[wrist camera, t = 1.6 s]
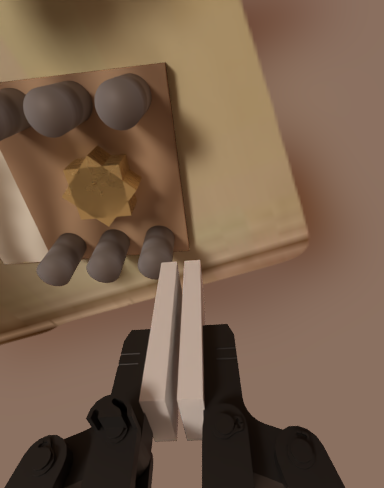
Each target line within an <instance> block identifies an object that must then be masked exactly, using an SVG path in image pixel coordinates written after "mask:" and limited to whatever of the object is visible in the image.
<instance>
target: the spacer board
mask: <svg viewBox="0 0 384 488" xmlns="http://www.w3.org/2000/svg"><path fill="white" fill-rule="evenodd" d="M97 145H98V146H99V147H100V148H102V149H103V150H104V151H106V152H107V153H109V154H110V155H119V154H126V156H127V160H128V165H129V169H131V170H132V171H133V172H135V173H136V174H137V175H139V176H140V177H142V179H141V181H140V183H139V186H138V188H137V190H136V192H135V195H136V199H137V202H136V205H135V208H134V210H133V213H132V215H131V216H119V217H116V218H115V219H114V221H113V222H112V223H111V225H110V226H109V227H108V226H107V225H105V224H104V223H102V222H100V221H99V220H97V219H84V220H81V218H80V215H79V213H78V210H77V207H76V206H75V205H73V204H72V203H70V202H68V201H67V200H65V199H64V198H62V196H63V194H64V193H65V191H66V189H67V188H68V186H69V185H68V183H67V180H66V177H65V175H64V172H63V170H64V169H65V168H66V167H67V166H68V165H69V164H70V163H71V162H72V161H74V160H75V159H79V158H86V156H87V155H88V154H89V153H90V152H91V151H92V150H93V149H94V148H95V147H96V146H97ZM177 251H189V240H188V232H187V224H186V217H185V209H184V201H183V193H182V186H181V178H180V170H179V163H178V155H177V147H176V139H175V132H174V124H173V116H172V109H171V101H170V93H169V85H168V78H167V70H166V62H165V63H157V64H149V65H140V66H132V67H124V68H116V69H107V70H99V71H91V72H82V73H74V74H66V75H58V76H49V77H41V78H33V79H24V80H16V81H8V82H0V258H1V260H2V261H3V263H4V264H17V263H30V262H40V263H39V265H38V266H37V274H38V276H39V277H40V279H41V280H43V281H44V282H45V283H47V284H50V285H53V286H63V285H65V284H67V283H68V282H69V281H70V279H71V277H72V275H73V273H74V272H75V270H76V268H77V266H78V264H79V262H80V261H81V259H85V258H90V260H89V262H88V264H87V272H88V274H89V275H90V276H91V277H92V278H93V279H95V280H97V281H99V282H104V283H109V282H113V281H115V280H117V279H118V277H119V276H120V273H121V270H122V267H123V264H124V261H125V258H126V255H138V254H140V257H139V261H138V269H139V271H140V272H141V273H142V274H143V275H144V276H145V277H148V278H150V279H159V274H160V268H161V263H163V262H172V257H173V252H177Z"/></svg>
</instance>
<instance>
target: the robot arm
mask: <svg viewBox="0 0 384 488" xmlns="http://www.w3.org/2000/svg"><path fill="white" fill-rule="evenodd" d="M178 406H179V410H180V414H181V418H182V421H183V426H184V430H185V434H186V438H187V440H188V441H190V440H191V441H192V440H202V488H345V486H344V484H343V482H342V481H341V479H340V477H339V475H338V473H337V471H336V469H335V467H334V465H333V463H332V461H331V460H330V458H329V456H328V454H327V452H326V450H325V448H324V446H323V445H322V443H321V442H320V441H319V439H318V438H317V436H315V435H314V434H313V433H311V432H310V431H309V430H307V429H305V428H302V427H299V426H289V427H287V428H285V429H284V430H282V429H279V428H276V427H273V426H269V425H267V424H264V423H262V422H260V421H258V420H256V419H255V418H254V417H252V415H251V414H250V413H249V412H248V411H247V409H246V407H245V405H244V402H243V398H242V391H241V384H240V377H239V369H238V363H237V355H236V348H235V339H234V334H233V332H232V331H231V329H230V328H229V326H228V324H221V325H220V324H219V325H205V303H204V292H203V282H202V273H201V264H200V260H190V261H184V277H183V295H182V289H181V283H180V277H179V271H178V265H177V262H163V263H161V268H160V274H159V281H158V287H157V293H156V299H155V305H154V311H153V318H152V324H151V329H145V330H132V331H131V332H130V334H129V335H128V336H127V338H126V340H125V341H124V344H123V348H122V352H121V356H120V360H119V366H118V368H117V372H116V376H115V380H114V385H113V389H112V393H111V395H108V396H105V397H103V398H102V399H100V400H98V401H97V402H96V403H95V405H94V406H93V407H92V408H91V409H90V411H89V414H88V416H87V418H86V419H87V420H88V422H89V423H90V425H91V428H89V429H87V430H85V431H83V432H81V433H78V434H76V435H73V436H71V437H68V438H66V439H63V438H61V437H59V436H58V435H48V436H46V437H43V438H41V439H39V440H38V441H37V442H35V443H34V444H33V445H32V446H31V447H30V448H29V449H28V451H27V452H26V453H25V455H24V456H23V458H22V459H21V461H20V463H19V465H18V466H17V468H16V469H15V471H14V473H13V474H12V476H11V478H10V479H9V481H8V483H7V484H6V486H5V488H151V483H152V471H153V455H152V453H151V448H152V438H154V440H155V442H159V441H177V427H178Z"/></svg>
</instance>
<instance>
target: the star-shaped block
mask: <svg viewBox="0 0 384 488" xmlns="http://www.w3.org/2000/svg"><path fill="white" fill-rule="evenodd" d="M63 172H64V175H65V177H66V180H67V183H68V185H69V186H68V188H67V189H66V191H65V193H64V194H63V196H62V198H64V199H65V200H67V201H68V202H70V203H72V204H73V205H75V206H76V207H77V210H78V213H79V215H80V218H81V220H84V219H97V220H99V221H100V222H102V223H104V224H105V225H107V226H108V227H109V226H110V225H111V223H112V222H113V221H114V219H115V218H116V217H119V216H131V215H132V213H133V210H134V208H135V205H136V202H137V199H136V195H135V192H136V190H137V188H138V186H139V183H140V181H141V179H142V177H140V176H139V175H137V174H136V173H135V172H133V171H132V170H131V169H129V165H128V160H127V156H126V154H119V155H110V154H109V153H107V152H106V151H104V150H103V149H102V148H100V147H99V146H98V145H97V146H96V147H95V148H94V149H93V150H92V151H91V152H90V153H89V154H88V155H87V156H86V158H79V159H75V160H74V161H72V162H71V163H70V164H69V165H68V166H67V167H66V168H65V169H64V170H63Z"/></svg>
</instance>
